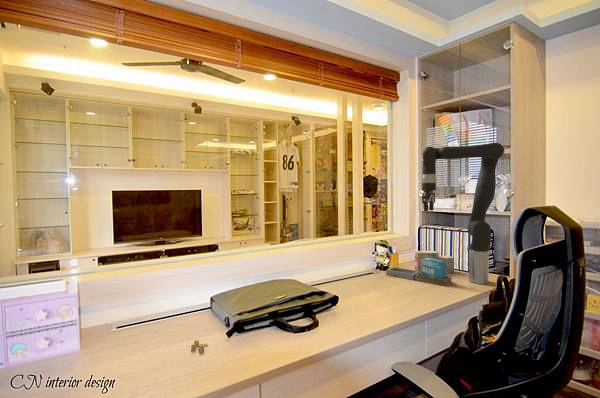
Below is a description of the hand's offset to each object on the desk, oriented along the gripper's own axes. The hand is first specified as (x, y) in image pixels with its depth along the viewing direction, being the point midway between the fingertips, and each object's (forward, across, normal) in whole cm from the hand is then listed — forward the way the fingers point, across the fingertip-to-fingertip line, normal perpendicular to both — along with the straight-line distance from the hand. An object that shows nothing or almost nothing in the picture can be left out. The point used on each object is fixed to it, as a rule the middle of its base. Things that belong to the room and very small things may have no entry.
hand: (428, 210), depth 180 cm
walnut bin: (+38, -7, -5) cm, 39 cm away
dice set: (+39, -130, +26) cm, 139 cm away
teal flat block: (+38, -7, -5) cm, 39 cm away
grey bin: (+38, -7, +12) cm, 41 cm away
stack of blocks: (+38, +15, +2) cm, 41 cm away
